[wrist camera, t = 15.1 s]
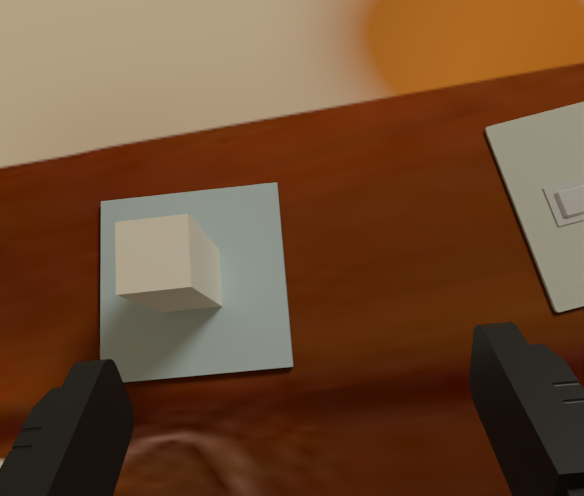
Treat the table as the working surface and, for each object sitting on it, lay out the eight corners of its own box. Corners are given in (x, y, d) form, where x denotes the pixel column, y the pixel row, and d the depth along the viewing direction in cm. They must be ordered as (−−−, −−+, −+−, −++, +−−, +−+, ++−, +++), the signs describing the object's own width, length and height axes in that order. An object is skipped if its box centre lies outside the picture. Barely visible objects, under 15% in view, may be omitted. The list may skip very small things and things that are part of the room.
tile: (277, 184, 45) (277, 182, 44) (293, 366, 41) (292, 366, 41) (103, 203, 46) (100, 201, 45) (103, 384, 42) (100, 384, 41)
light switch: (486, 124, 44) (595, 97, 44) (482, 131, 46) (588, 104, 46) (559, 312, 40) (679, 281, 40) (552, 314, 41) (669, 283, 41)
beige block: (218, 249, 43) (187, 213, 34) (222, 306, 42) (191, 286, 32) (162, 255, 44) (115, 221, 34) (163, 312, 42) (115, 295, 33)
